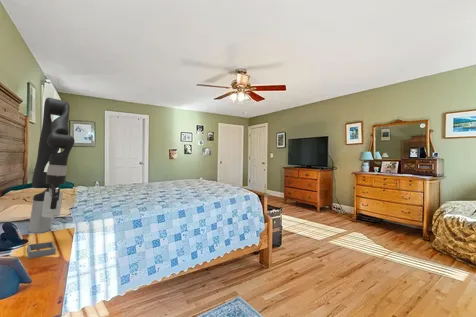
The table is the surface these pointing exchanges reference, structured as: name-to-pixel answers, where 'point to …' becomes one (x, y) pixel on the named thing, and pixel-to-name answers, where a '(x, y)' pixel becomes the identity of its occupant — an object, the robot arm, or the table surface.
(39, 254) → the frame
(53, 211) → the skincare box
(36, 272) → the table surface
